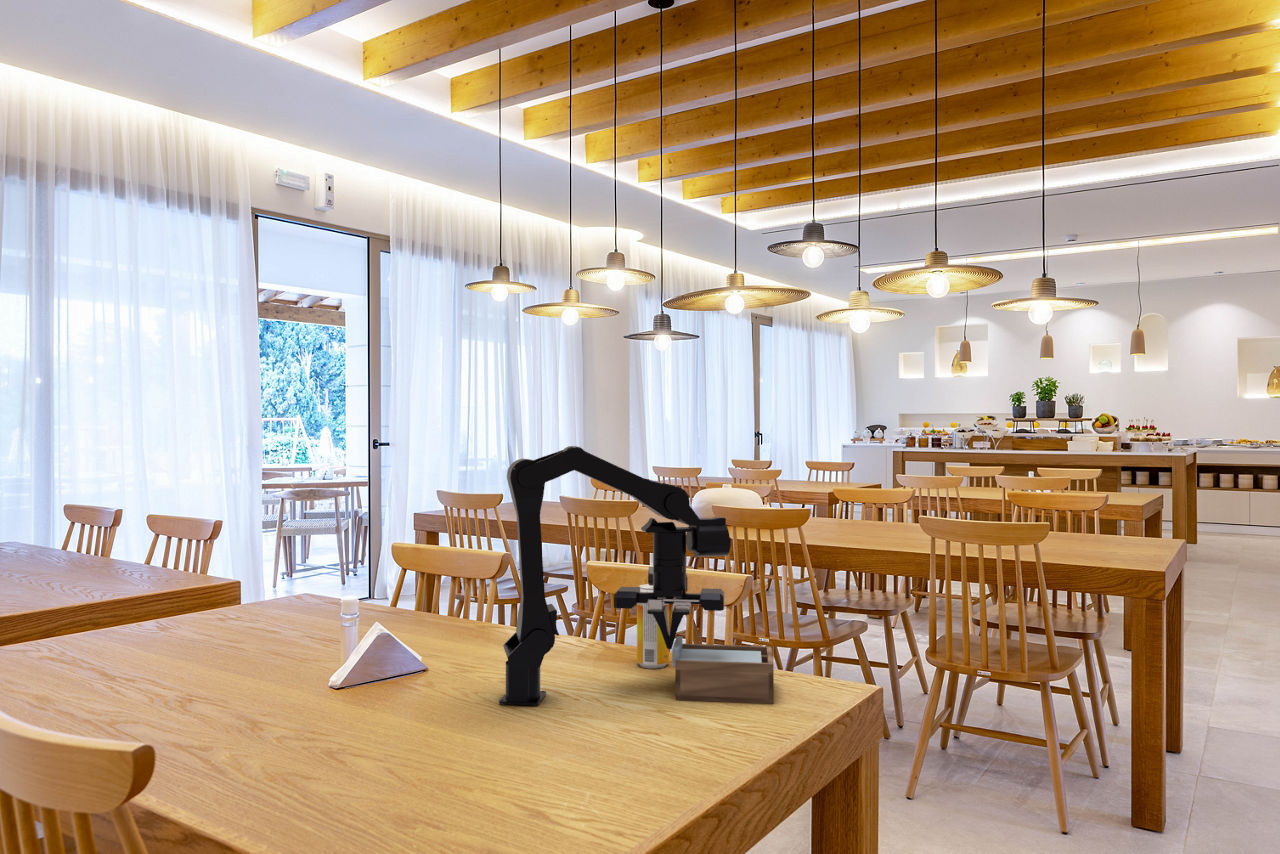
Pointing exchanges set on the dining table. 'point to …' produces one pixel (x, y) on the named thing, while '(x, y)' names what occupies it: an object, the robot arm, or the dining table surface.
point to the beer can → (650, 637)
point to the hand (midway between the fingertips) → (669, 648)
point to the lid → (712, 654)
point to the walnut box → (726, 677)
